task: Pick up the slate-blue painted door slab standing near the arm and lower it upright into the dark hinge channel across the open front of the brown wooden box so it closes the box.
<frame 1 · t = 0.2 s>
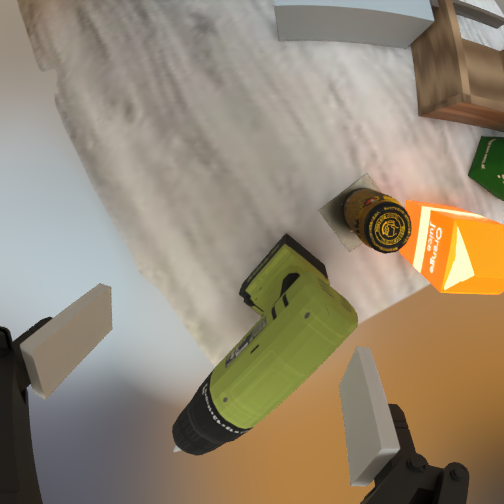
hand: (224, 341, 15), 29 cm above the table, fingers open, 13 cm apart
milk carton: (489, 167, 35), on the table
cordless drill: (264, 294, 45), on the table
brown wooden box: (465, 80, 32), on the table
condiment: (358, 212, 40), on the table
orange juice: (428, 228, 40), on the table
door: (343, 31, 33), on the table, touching brown wooden box
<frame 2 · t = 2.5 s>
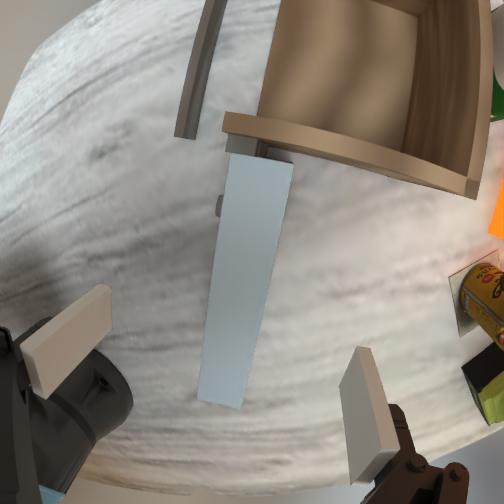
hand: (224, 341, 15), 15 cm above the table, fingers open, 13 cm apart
milk carton: (469, 79, 22), on the table
cordless drill: (492, 385, 31), on the table
brown wooden box: (347, 68, 23), on the table
condiment: (478, 293, 28), on the table
door: (254, 253, 30), on the table
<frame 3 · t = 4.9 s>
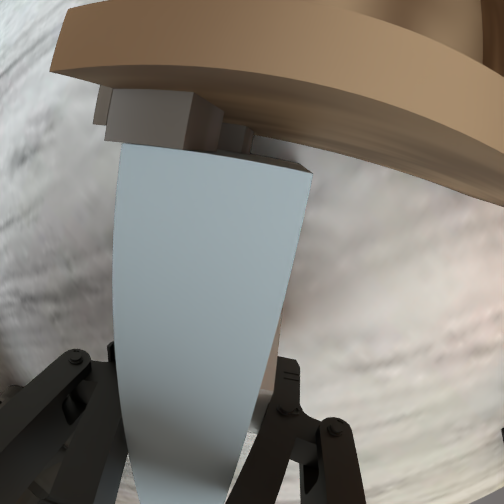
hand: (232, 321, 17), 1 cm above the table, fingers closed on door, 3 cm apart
brown wooden box: (386, 14, 12), on the table
door: (236, 311, 18), on the table, touching gripper
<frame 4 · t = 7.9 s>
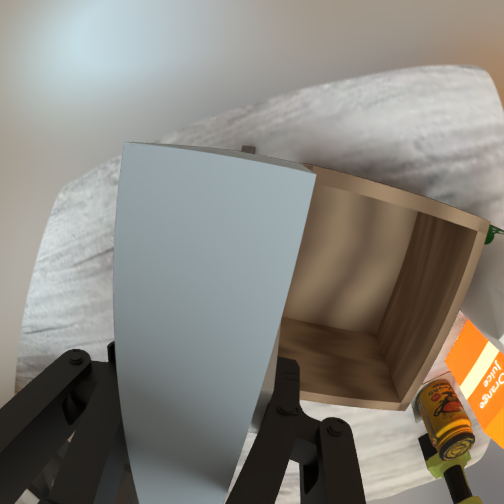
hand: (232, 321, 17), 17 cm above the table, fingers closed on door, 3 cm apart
milk carton: (454, 251, 31), on the table
cordless drill: (446, 446, 41), on the table
brown wooden box: (348, 259, 33), on the table
condiment: (432, 396, 38), on the table
orange juice: (475, 339, 34), on the table
door: (236, 311, 18), point 16 cm above the table, touching gripper
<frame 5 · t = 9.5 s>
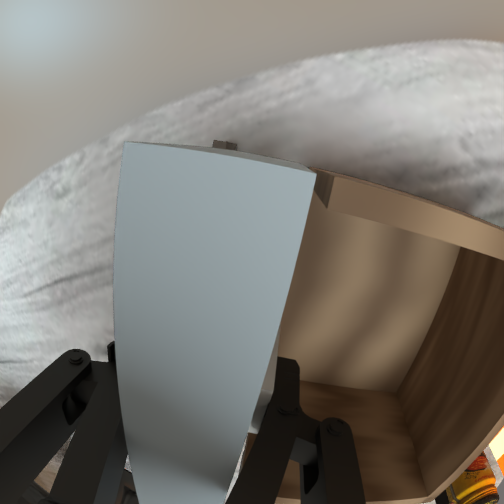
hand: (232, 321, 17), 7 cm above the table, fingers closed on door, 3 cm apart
cordless drill: (460, 486, 31), on the table
brown wooden box: (367, 302, 23), on the table
condiment: (452, 445, 28), on the table
door: (236, 311, 18), point 6 cm above the table, touching gripper
when the fingers open (3 cm above the table, at t = 11.0 s): door drops 2 cm, on the table.
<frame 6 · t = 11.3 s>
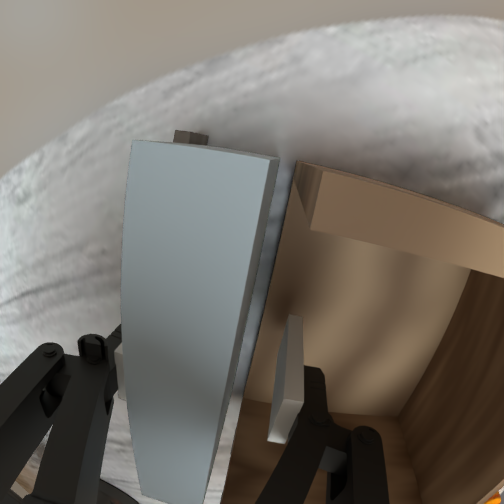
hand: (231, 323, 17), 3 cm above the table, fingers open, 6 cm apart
brown wooden box: (366, 320, 20), on the table
door: (225, 292, 20), on the table
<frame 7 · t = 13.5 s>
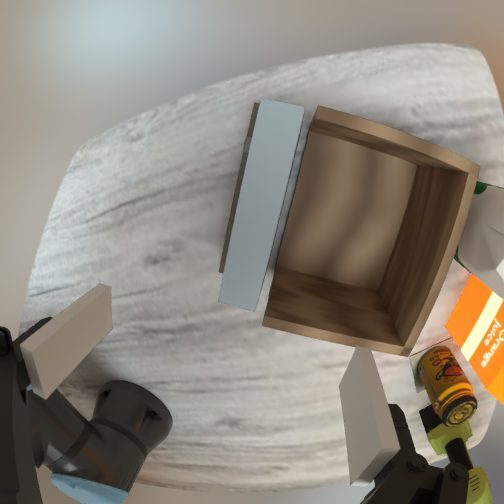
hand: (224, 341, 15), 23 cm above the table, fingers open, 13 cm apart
milk carton: (451, 213, 33), on the table
cordless drill: (447, 423, 43), on the table
brown wooden box: (350, 214, 35), on the table
condiment: (433, 365, 39), on the table
orange juice: (475, 305, 36), on the table
door: (269, 193, 36), on the table
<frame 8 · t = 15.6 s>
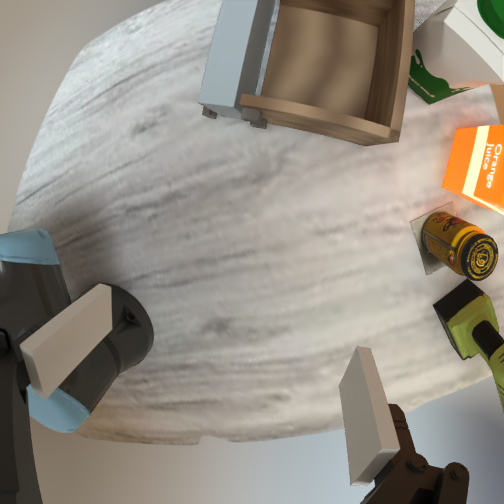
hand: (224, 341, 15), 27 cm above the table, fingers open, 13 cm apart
milk carton: (421, 71, 32), on the table
cordless drill: (466, 329, 41), on the table
brown wooden box: (324, 67, 33), on the table
condiment: (439, 238, 38), on the table
orange juice: (468, 168, 34), on the table
door: (249, 55, 34), on the table
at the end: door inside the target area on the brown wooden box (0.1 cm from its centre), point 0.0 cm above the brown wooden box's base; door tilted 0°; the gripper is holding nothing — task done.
